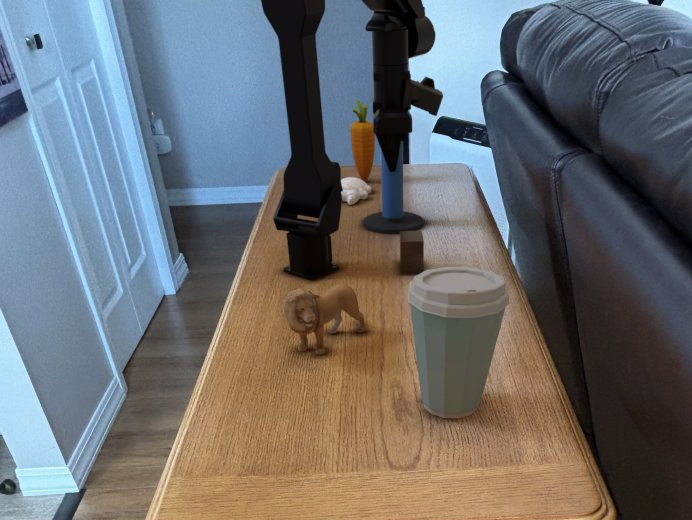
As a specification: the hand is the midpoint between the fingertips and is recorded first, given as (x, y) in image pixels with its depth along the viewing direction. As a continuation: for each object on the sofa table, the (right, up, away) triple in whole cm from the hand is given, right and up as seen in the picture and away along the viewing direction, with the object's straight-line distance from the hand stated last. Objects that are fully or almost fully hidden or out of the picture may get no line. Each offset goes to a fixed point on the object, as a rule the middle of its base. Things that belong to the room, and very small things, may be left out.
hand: (392, 168), depth 128 cm
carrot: (-6, +11, +27) cm, 30 cm away
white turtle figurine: (-9, +4, +20) cm, 22 cm away
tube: (0, -1, +1) cm, 2 cm away
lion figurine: (-8, -39, -32) cm, 51 cm away
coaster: (0, -7, +6) cm, 9 cm away
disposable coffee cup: (+7, -49, -44) cm, 66 cm away
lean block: (+3, -21, -11) cm, 24 cm away
